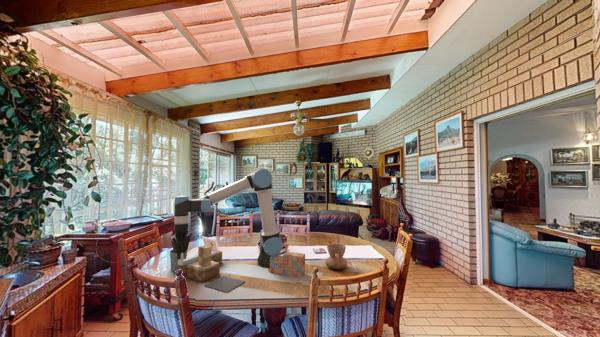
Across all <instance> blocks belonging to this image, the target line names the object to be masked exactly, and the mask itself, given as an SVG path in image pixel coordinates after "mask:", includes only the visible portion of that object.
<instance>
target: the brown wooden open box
mask: <svg viewBox="0 0 600 337" xmlns="http://www.w3.org/2000/svg"><path fill="white" fill-rule="evenodd" d="M211 261H214V262H219V265H217V266H215V267H213V268H211V269H208V270H206V271H200V270H196V269H192V268H188V267H186V265H184V266H181V265H180V266H179V269H182V271H183V273H182V275H183V276H184V277H185V278H186V279H188V278H189V280H193V281H196V282H199V283H206V282H208V281H210V280H213V279H214V278H215V279H216V277H218V276H220V273H221V271H220V270H221V264H222V263H223V251H221V250H218V251H216V252H213V253H212V252H211Z"/></svg>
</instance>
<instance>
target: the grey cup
mask: <svg viewBox="0 0 600 337" xmlns="http://www.w3.org/2000/svg"><path fill="white" fill-rule="evenodd" d="M187 256H188V250H186V253H185V256H184V259H187V258H188V257H187ZM169 257H170V258H169V259H170V271H171V272H174V271H176V270H178V269H179V266H180V265H178V259H177V253H174V251H173V248H172V249H171V250H169Z"/></svg>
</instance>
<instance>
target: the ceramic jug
mask: <svg viewBox="0 0 600 337" xmlns="http://www.w3.org/2000/svg"><path fill="white" fill-rule="evenodd" d="M346 247H347V246H346V245H345V244H343V243H336V242H335V243H334V242H333V243H328V244H327V245H326V249H327V252H328V255H329V257H327V258H326V259H325V262H324V263H325V266H326V267H327V268H330V269H332V270H338V271H339V270H344V269H346V268H347V266H348V265H349V264H348V261H347V259H345V258H344V255H345V253H346Z"/></svg>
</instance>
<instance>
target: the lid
mask: <svg viewBox="0 0 600 337" xmlns="http://www.w3.org/2000/svg"><path fill="white" fill-rule="evenodd" d="M211 254H212V245H211V246H210V245H205V244H204V245H203V244H202V245H200V246H198V254H197V255H198V261H195V262H192V263H190V264H187V265H186V267H188V268H192V269H196V270H200V271H206V270H208V269H211V268H213V267H215V266H217V265H220V264H219V262H214V261H211Z"/></svg>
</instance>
